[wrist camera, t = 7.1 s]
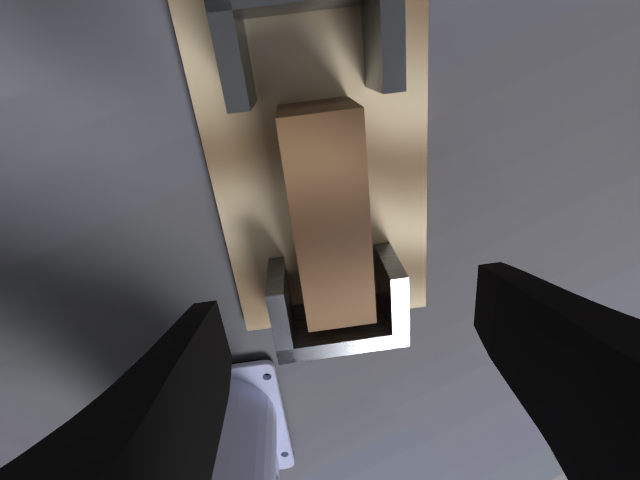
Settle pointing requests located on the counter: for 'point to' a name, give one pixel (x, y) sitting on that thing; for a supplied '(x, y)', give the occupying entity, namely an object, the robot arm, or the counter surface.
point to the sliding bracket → (246, 3)
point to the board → (263, 145)
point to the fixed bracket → (344, 341)
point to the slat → (329, 209)
